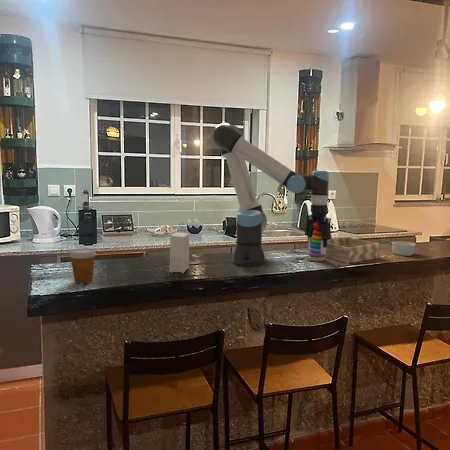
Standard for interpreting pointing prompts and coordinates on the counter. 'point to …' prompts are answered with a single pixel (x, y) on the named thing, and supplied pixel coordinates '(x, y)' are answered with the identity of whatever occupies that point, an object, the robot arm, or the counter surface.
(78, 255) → the disposable coffee cup
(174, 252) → the skincare box
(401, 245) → the saucepan
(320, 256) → the stacking toy
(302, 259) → the counter surface
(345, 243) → the open-top box
